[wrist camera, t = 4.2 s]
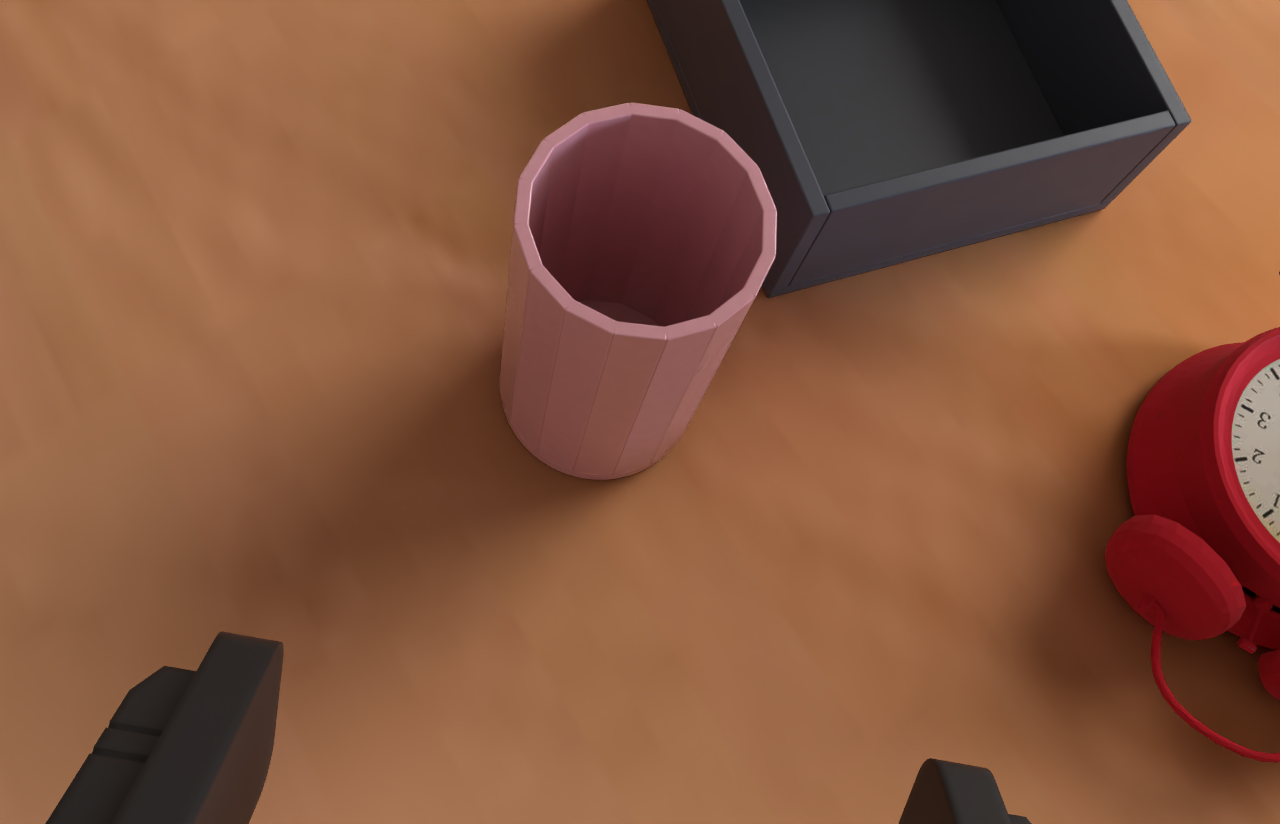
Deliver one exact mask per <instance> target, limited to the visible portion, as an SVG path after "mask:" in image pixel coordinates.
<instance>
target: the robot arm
mask: <svg viewBox="0 0 1280 824" xmlns="http://www.w3.org/2000/svg"><path fill="white" fill-rule="evenodd" d="M282 663H283V643H282V642H278V641H272V640H266V639H261V638H255V637H249V636H244V635H238V634H232V633H227V632H220V633H219V634H218V635H217V636H216V638H215V639H214V641H213V643H212V645H211V646H210V648H209V650H208V652H207V654H206V655H205V657H204V659H203V661H202V663H201V664H200V666H199V668H198V670H197V671H191V670H186V669H180V668H174V667H168V666H164V667H162V668H161V669H159V670H158V671H156V672H155V673H154V674H152V675H151V676H149V677H148V678H146V679H145V680H144V681H142V682H141V683H139V684H138V685H136V686H135V687H133V688H132V689H131V690H129V692H128V693H127V695H126V697H125V698H124V700H123V701H122V703H121V705H120V706H119V708H118V709H117V711H116V713H115V714H114V716H113V717H112V719H111V720H110V724H109V727H108V728H105V730H104V732H103V733H102V735H101V736H100V738H99V740H98V741H97V743H96V744H95V746H94V749H93V752H92V754H89V755H88V757H87V759H86V760H85V762H84V763H83V765H82V767H81V768H80V770H79V771H78V773H77V775H76V776H75V778H74V779H73V781H72V783H71V784H70V786H69V787H68V789H67V790H66V792H65V794H64V795H63V797H62V798H61V800H60V802H59V803H58V805H57V806H56V808H55V810H54V811H53V813H52V814H51V816H50V818H49V819H48V821H47V822H46V824H249V821H250V819H251V816H252V814H253V812H254V809H255V807H256V804H257V802H258V800H259V797H260V795H261V792H262V789H263V786H264V783H265V780H266V776H267V773H268V769H269V765H270V760H271V755H272V750H273V744H274V736H275V727H276V718H277V709H278V699H279V690H280V681H281V672H282ZM899 824H1031V823H1030V821H1029V820H1028V819H1027V818H1026V817H1022V816H1016V815H1011V814H1008V813H1007V810H1006V808H1005V805H1004V802H1003V800H1002V797H1001V794H1000V792H999V789H998V787H997V784H996V781H995V779H994V776H993V774H992V773H991V771H990V770H988V769H987V768H982V767H977V766H971V765H965V764H960V763H954V762H948V761H943V760H937V759H931V758H930V759H927V760H926V761H925V762H924V763H923V764H922V766H921V768H920V770H919V772H918V775H917V777H916V780H915V783H914V785H913V788H912V790H911V793H910V795H909V798H908V801H907V803H906V806H905V808H904V811H903V814H902V816H901V819H900V821H899Z"/></svg>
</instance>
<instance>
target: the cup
mask: <svg viewBox="0 0 1280 824" xmlns="http://www.w3.org/2000/svg"><path fill="white" fill-rule="evenodd" d="M776 234H777V211H776V207H775V204H774V202H773V200H772V197H771V195H770V192H769V190H768V188H767V185H766V183H765V180H764V178H763V176H762V173H761V171H760V168H759V167H758V165H757V164H756V163H755V162H754V161H753V160H752V159H751V158H750V157H749V156H748V155H747V154H746V153H745V152H744V151H743V150H742V149H741V148H740V147H739V146H738V145H737V143H736V142H735V141H734V140H733V139H732V138H731V137H730V136H729V135H728V134H727V133H726V132H724V131H723V130H721V129H719V128H717V127H715V126H713V125H711V124H709V123H707V122H705V121H703V120H701V119H699V118H697V117H695V116H693V115H691V114H689V113H687V112H685V111H683V110H681V109H680V110H679V109H677V108H670V107H662V106H655V105H647V104H639V103H632V102H631V103H624V104H619V105H615V106H610V107H606V108H601V109H596V110H592V111H587V112H583V113H581V114H579V115H578V116H576V117H575V118H573V119H572V120H570V121H569V122H567V123H566V124H564V125H563V126H561V127H560V128H558V129H557V130H555V131H554V132H552V133H551V134H550V135H548V136H547V137H545V138H544V139H543V140H542V141H541V142H540V144H539V145H538V147H537V149H536V150H535V152H534V154H533V155H532V157H531V158H530V160H529V162H528V163H527V165H526V166H525V168H524V170H523V171H522V173H521V174H520V176H519V179H518V183H517V192H516V201H515V211H514V220H513V231H512V243H511V254H510V266H509V278H508V289H507V301H506V313H505V325H504V336H503V348H502V360H501V371H500V383H499V388H500V393H501V401H502V405H503V409H504V413H505V415H506V418H507V420H508V423H509V425H510V427H511V428H512V430H513V432H514V434H515V435H516V437H517V438H518V439H519V440H520V442H521V443H522V444H523V445H524V446H525V447H526V449H527V450H528V451H529V452H530V453H531V454H533V455H534V456H535V457H536V458H538V459H539V460H540V461H542V462H543V463H545V464H547V465H548V466H550V467H552V468H553V469H556V470H558V471H560V472H563V473H565V474H568V475H572V476H575V477H579V478H585V479H596V480H606V479H617V478H621V477H626V476H630V475H632V474H635V473H638V472H641V471H642V470H644V469H646V468H648V467H650V466H652V465H653V464H655V463H656V462H658V461H659V460H660V459H662V458H663V457H664V456H665V455H666V454H667V453H668V452H669V451H670V450H671V449H672V448H673V447H674V445H675V444H676V443H677V442H678V441H679V440H680V438H681V437H682V435H683V433H684V431H685V429H686V427H687V425H688V423H689V422H690V420H691V418H692V416H693V414H694V412H695V410H696V408H697V406H698V405H699V403H700V401H701V399H702V397H703V395H704V393H705V391H706V390H707V388H708V386H709V384H710V382H711V380H712V378H713V376H714V374H715V373H716V371H717V369H718V367H719V365H720V363H721V361H722V359H723V358H724V356H725V354H726V352H727V350H728V348H729V346H730V344H731V342H732V341H733V339H734V337H735V335H736V333H737V331H738V329H739V327H740V326H741V324H742V322H743V320H744V318H745V316H746V314H747V312H748V310H749V309H750V307H751V305H752V303H753V301H754V299H755V297H756V295H757V293H758V291H759V289H760V287H761V285H762V283H763V281H764V279H765V277H766V275H767V273H768V271H769V269H770V267H771V265H772V264H773V262H774V260H775V256H776Z"/></svg>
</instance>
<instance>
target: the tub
mask: <svg viewBox="0 0 1280 824" xmlns="http://www.w3.org/2000/svg"><path fill="white" fill-rule="evenodd" d="M647 2H648V5H649V7H650V9H651V12H652V14H653V17H654V19H655V22H656V24H657V27H658V29H659V32H660V34H661V37H662V39H663V42H664V44H665V47H666V49H667V51H668V54H669V56H670V59H671V61H672V64H673V66H674V69H675V71H676V74H677V76H678V79H679V81H680V84H681V86H682V89H683V91H684V93H685V96H686V98H687V101H688V103H689V106H690V108H691V111H692V113H693V116H695V117H697V118H699V119H701V120H703V121H705V122H707V123H709V124H711V125H713V126H715V127H717V128H719V129H721V130H723V131H724V132H726V133H727V134H728V135H729V136H730V137H731V138H732V139H733V140H734V141H735V142H736V143H737V145H738V146H739V147H740V148H741V149H742V150H743V151H744V152H745V153H746V154H747V155H748V156H749V157H750V158H751V159H752V160H753V161H754V162H755V163H756V164H757V165H758V167H759V168H760V171H761V173H762V176H763V178H764V180H765V183H766V185H767V188H768V190H769V192H770V195H771V197H772V200H773V202H774V204H775V207H776V211H777V234H776V256H775V260H774V262H773V264H772V265H771V267H770V269H769V271H768V273H767V275H766V277H765V279H764V281H763V283H762V286H763V289H764V291H765V294H766V296H767V298H770V297H774V296H778V295H782V294H785V293H789V292H793V291H797V290H800V289H804V288H808V287H812V286H815V285H819V284H823V283H827V282H831V281H834V280H838V279H842V278H846V277H849V276H853V275H857V274H861V273H864V272H868V271H872V270H876V269H879V268H883V267H887V266H891V265H895V264H898V263H902V262H906V261H910V260H913V259H917V258H921V257H925V256H928V255H932V254H936V253H940V252H943V251H947V250H951V249H955V248H959V247H962V246H966V245H970V244H974V243H977V242H981V241H985V240H989V239H992V238H996V237H1000V236H1004V235H1007V234H1011V233H1015V232H1019V231H1023V230H1026V229H1030V228H1034V227H1038V226H1041V225H1045V224H1049V223H1053V222H1056V221H1060V220H1064V219H1068V218H1072V217H1075V216H1079V215H1083V214H1087V213H1090V212H1094V211H1098V210H1102V209H1104V208H1105V207H1106V206H1107V205H1108V204H1109V203H1110V202H1111V201H1112V200H1114V199H1115V198H1116V197H1117V196H1118V195H1119V194H1120V193H1121V192H1122V191H1123V190H1124V189H1125V188H1126V187H1127V186H1128V185H1129V184H1130V183H1131V182H1132V181H1133V180H1134V179H1135V178H1136V177H1137V176H1138V175H1139V174H1140V173H1141V172H1142V171H1143V170H1144V169H1145V168H1146V167H1147V166H1148V165H1149V164H1150V163H1151V162H1152V161H1153V160H1154V159H1155V158H1156V157H1157V156H1158V155H1159V154H1160V153H1161V152H1162V151H1163V150H1164V149H1165V148H1166V147H1167V146H1168V145H1169V144H1170V143H1171V142H1172V141H1173V140H1174V139H1175V138H1176V137H1177V136H1178V134H1179V133H1180V132H1181V131H1182V130H1183V129H1184V128H1185V127H1186V126H1187V125H1188V124H1189V123H1190V122H1191V118H1190V116H1189V115H1188V113H1187V111H1186V109H1185V107H1184V105H1183V104H1182V102H1181V100H1180V98H1179V96H1178V94H1177V92H1176V91H1175V89H1174V87H1173V85H1172V83H1171V81H1170V79H1169V78H1168V76H1167V74H1166V72H1165V70H1164V68H1163V67H1162V65H1161V63H1160V61H1159V59H1158V57H1157V55H1156V54H1155V52H1154V50H1153V48H1152V46H1151V44H1150V43H1149V41H1148V39H1147V37H1146V35H1145V33H1144V31H1143V30H1142V28H1141V26H1140V24H1139V22H1138V20H1137V19H1136V17H1135V15H1134V13H1133V11H1132V9H1131V7H1130V6H1129V4H1128V2H1127V0H647Z"/></svg>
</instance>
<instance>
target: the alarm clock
mask: <svg viewBox="0 0 1280 824" xmlns="http://www.w3.org/2000/svg"><path fill="white" fill-rule="evenodd" d="M1279 274H1280V272H1279ZM1127 478H1128V489H1129V495H1130V500H1131V504H1132V508H1133V511H1134V515H1135V516H1133V517H1132V518H1130V519H1129V520H1127V521H1126V522H1124V523H1123V524H1121V525H1120V526H1119V527H1118V528H1117V530H1116V531H1115V532H1114V534H1113V535H1112V537H1111V538H1110V539H1109V541H1108V543H1107V547H1106V553H1105V561H1106V567H1107V572H1108V574H1109V576H1110V578H1111V580H1112V582H1113V584H1114V585H1115V587H1116V589H1117V591H1118V592H1119V593H1120V595H1121V596H1122V597H1123V598H1124V599H1125V601H1126V602H1127V603H1128V604H1129V605H1130V607H1131V608H1132V609H1133V610H1134V611H1135V612H1137V613H1138V614H1139V615H1140V616H1141V617H1143V618H1144V619H1145V620H1146V621H1147V622H1149V623H1150V624H1151V625H1153V626H1155V627H1154V631H1153V636H1152V646H1151V662H1152V672H1153V676H1154V679H1155V682H1156V684H1157V686H1158V688H1159V690H1160V692H1161V694H1162V696H1163V698H1164V699H1165V700H1166V701H1167V703H1168V704H1169V705H1170V706H1171V708H1172V709H1173V710H1174V711H1175V712H1176V713H1177V714H1178V715H1179V716H1180V717H1181V718H1182V719H1183V720H1184V721H1186V722H1187V723H1188V724H1189V725H1190V726H1191V727H1193V728H1194V729H1196V730H1197V731H1199V732H1200V733H1201V734H1203V735H1204V736H1206V737H1207V738H1209V739H1210V740H1212V741H1213V742H1215V743H1216V744H1218V745H1220V746H1222V747H1225V748H1227V749H1229V750H1231V751H1233V752H1235V753H1237V754H1239V755H1241V756H1244V757H1248V758H1251V759H1254V760H1258V761H1261V762H1280V753H1264V752H1258V751H1253V750H1250V749H1248V748H1246V747H1243V746H1241V745H1238V744H1236V743H1234V742H1232V741H1230V740H1228V739H1226V738H1224V737H1223V736H1221V735H1219V734H1217V733H1215V732H1213V731H1212V730H1211V729H1209V728H1208V727H1206V726H1205V725H1204V724H1202V723H1201V722H1200V721H1198V720H1197V719H1195V718H1194V717H1193V716H1192V715H1191V714H1190V713H1189V712H1188V711H1187V710H1186V709H1185V708H1184V707H1182V706H1181V705H1180V703H1179V702H1178V701H1177V700H1176V699H1175V697H1174V696H1173V694H1172V693H1171V691H1170V690H1169V688H1168V687H1167V684H1166V682H1165V679H1164V676H1163V674H1162V668H1161V659H1160V655H1161V638H1162V633H1163V631H1164V632H1166V633H1167V634H1169V635H1172V636H1176V637H1179V638H1183V639H1187V640H1202V639H1208V638H1214V637H1216V636H1218V635H1221V634H1222V633H1224V632H1225V631H1229V632H1231V633H1233V634H1235V635H1237V636H1239V637H1240V638H1239V640H1238V641H1237V646H1239V647H1240V648H1242V649H1244V650H1246V651H1247V652H1249V653H1251V654H1252V653H1254V652H1255V651H1256V648H1257V645H1260V646H1263V647H1267V648H1271V649H1275V651H1271V652H1268V653H1264V654H1262V655H1261V656H1260V658H1259V659H1258V671H1259V676H1260V681H1261V683H1262V684H1263V686H1264V687H1265V689H1266V690H1267V692H1268V693H1269V694H1270V695H1271V696H1273V697H1274V698H1276V699H1278V700H1280V327H1279V328H1275V329H1272V330H1269V331H1266V332H1264V333H1261V334H1259V335H1257V336H1255V337H1253V338H1251V339H1250V340H1248V341H1246V342H1245V343H1233V344H1226V345H1221V346H1217V347H1213V348H1210V349H1207V350H1204V351H1202V352H1200V353H1198V354H1195V355H1193V356H1191V357H1190V358H1188V359H1186V360H1184V361H1183V362H1181V363H1180V364H1178V365H1177V366H1175V367H1174V368H1173V369H1172V370H1170V371H1169V372H1168V373H1166V374H1165V375H1164V376H1163V377H1162V378H1161V379H1160V380H1159V381H1158V382H1157V383H1156V384H1155V385H1154V387H1153V388H1152V389H1151V391H1150V392H1149V393H1148V395H1147V396H1146V398H1145V399H1144V401H1143V403H1142V404H1141V406H1140V408H1139V410H1138V412H1137V415H1136V417H1135V420H1134V423H1133V426H1132V430H1131V433H1130V438H1129V444H1128V453H1127Z"/></svg>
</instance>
